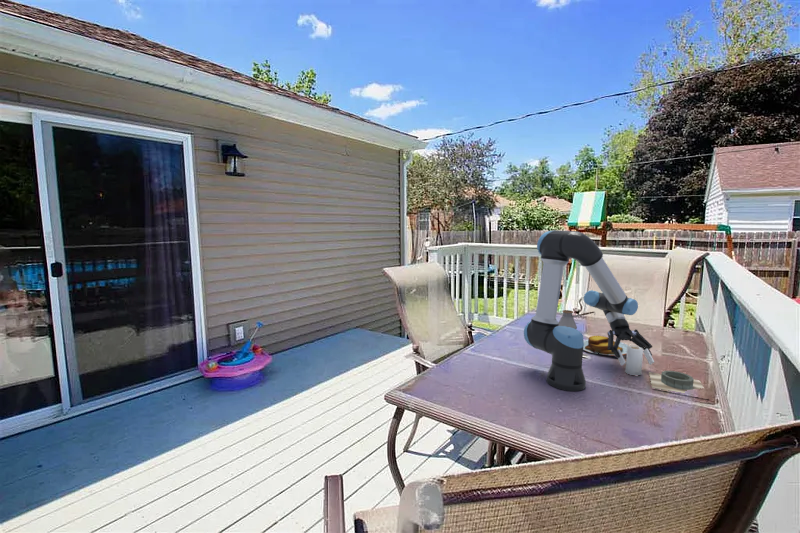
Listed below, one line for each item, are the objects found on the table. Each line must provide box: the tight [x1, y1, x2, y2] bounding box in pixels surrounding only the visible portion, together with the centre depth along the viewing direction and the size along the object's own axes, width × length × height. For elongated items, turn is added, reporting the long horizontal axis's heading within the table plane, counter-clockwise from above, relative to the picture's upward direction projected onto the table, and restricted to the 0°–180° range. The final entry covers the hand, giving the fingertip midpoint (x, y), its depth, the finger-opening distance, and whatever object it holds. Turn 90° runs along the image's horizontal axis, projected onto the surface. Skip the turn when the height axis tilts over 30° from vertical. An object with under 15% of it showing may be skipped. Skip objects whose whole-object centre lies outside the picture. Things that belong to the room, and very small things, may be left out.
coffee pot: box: [558, 309, 596, 330], centre depth 226 cm, size 21×12×15 cm, turn 49°
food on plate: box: [583, 335, 630, 356], centre depth 195 cm, size 25×25×7 cm
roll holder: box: [648, 370, 705, 393], centre depth 151 cm, size 18×18×4 cm
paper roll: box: [625, 345, 644, 376], centre depth 164 cm, size 6×6×12 cm
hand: (637, 363), depth 161 cm, fingers open, 13 cm apart
